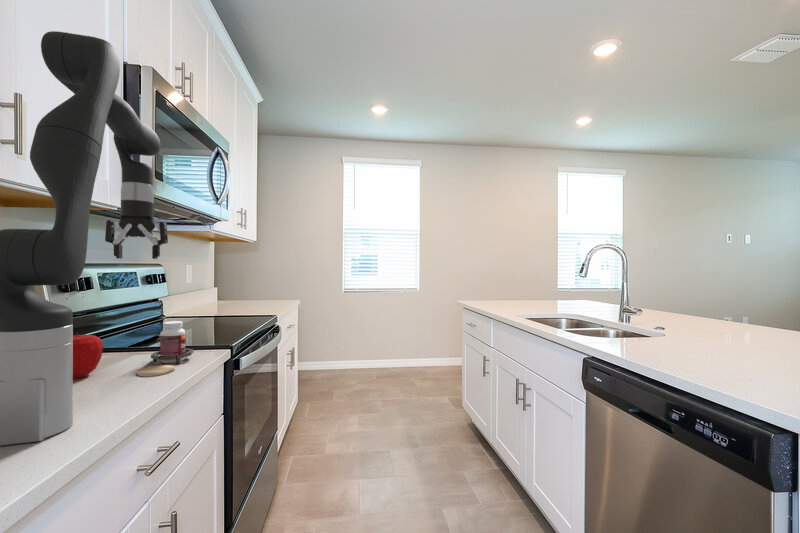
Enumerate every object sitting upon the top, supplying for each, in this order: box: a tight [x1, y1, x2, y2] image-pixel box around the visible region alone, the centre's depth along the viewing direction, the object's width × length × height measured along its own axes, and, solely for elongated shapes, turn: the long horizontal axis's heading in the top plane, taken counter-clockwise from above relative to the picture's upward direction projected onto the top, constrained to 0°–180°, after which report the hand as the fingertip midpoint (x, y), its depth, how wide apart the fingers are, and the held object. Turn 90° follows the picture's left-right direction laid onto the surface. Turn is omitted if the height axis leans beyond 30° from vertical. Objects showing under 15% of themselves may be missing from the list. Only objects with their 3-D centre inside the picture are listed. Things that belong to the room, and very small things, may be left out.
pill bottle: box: [159, 320, 187, 364], centre depth 105 cm, size 6×6×11 cm
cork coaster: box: [136, 364, 176, 377], centre depth 94 cm, size 8×8×1 cm
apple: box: [73, 332, 104, 380], centre depth 90 cm, size 10×10×11 cm
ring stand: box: [150, 347, 195, 365], centre depth 105 cm, size 10×10×2 cm
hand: (137, 258), depth 103 cm, fingers open, 8 cm apart
